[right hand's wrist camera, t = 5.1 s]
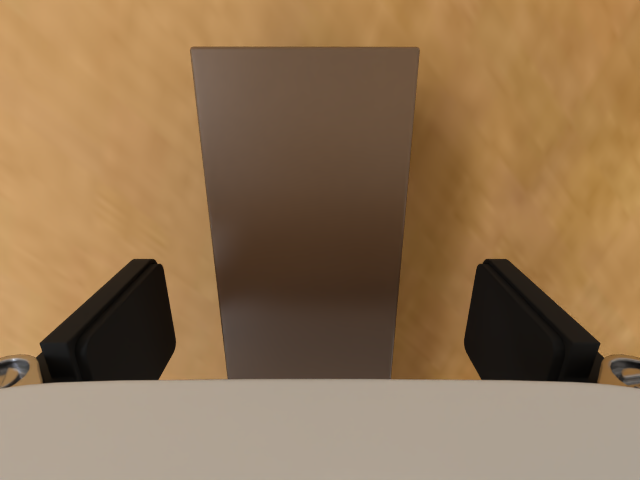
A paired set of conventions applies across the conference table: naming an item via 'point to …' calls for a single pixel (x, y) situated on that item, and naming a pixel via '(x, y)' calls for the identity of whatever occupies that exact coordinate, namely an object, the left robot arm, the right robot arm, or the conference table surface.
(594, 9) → the conference table surface
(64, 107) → the conference table surface
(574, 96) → the conference table surface
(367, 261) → the bar
